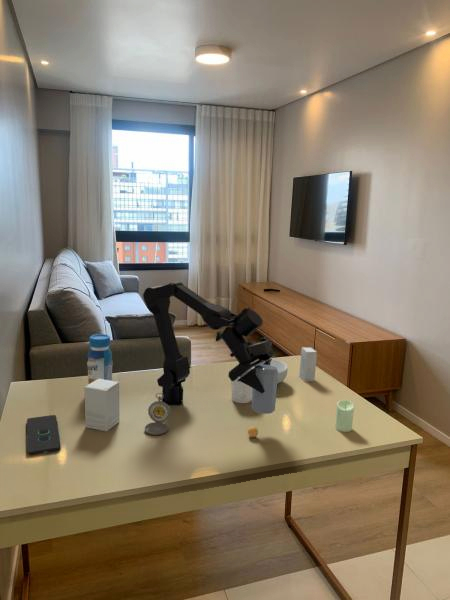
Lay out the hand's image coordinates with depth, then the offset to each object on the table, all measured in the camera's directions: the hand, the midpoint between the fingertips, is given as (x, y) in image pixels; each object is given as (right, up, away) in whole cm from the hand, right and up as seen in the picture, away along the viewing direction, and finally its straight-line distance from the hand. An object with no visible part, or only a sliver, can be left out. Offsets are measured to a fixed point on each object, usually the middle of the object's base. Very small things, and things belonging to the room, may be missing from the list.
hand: (268, 388), depth 131 cm
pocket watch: (-32, -12, +1) cm, 35 cm away
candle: (+23, -14, +7) cm, 28 cm away
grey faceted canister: (-2, -6, +2) cm, 7 cm away
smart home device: (-63, -13, -5) cm, 65 cm away
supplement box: (-49, -11, +3) cm, 50 cm away
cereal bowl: (+2, -6, +41) cm, 42 cm away
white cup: (-7, -9, +25) cm, 27 cm away
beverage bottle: (-56, -6, +25) cm, 61 cm away
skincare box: (+20, -6, +47) cm, 52 cm away
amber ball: (-5, -14, -1) cm, 14 cm away
